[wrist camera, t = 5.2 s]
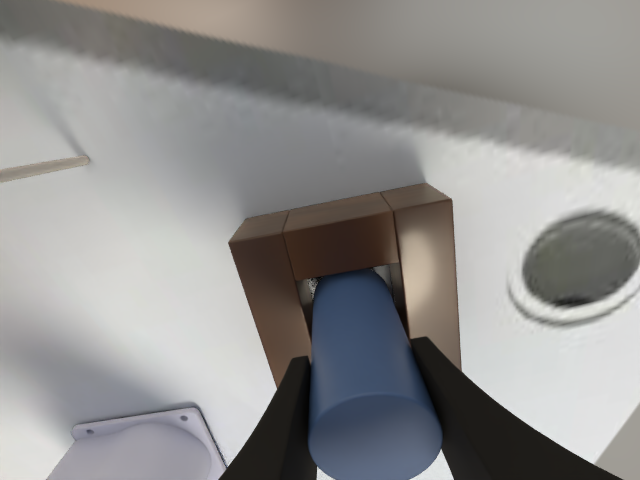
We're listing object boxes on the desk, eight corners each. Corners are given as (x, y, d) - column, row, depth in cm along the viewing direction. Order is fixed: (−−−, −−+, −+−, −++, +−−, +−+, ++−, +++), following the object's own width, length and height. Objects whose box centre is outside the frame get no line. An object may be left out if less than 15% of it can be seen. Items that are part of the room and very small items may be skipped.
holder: (288, 358, 21) (281, 404, 17) (245, 218, 17) (227, 242, 14) (439, 334, 20) (462, 377, 17) (427, 182, 16) (453, 198, 13)
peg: (321, 335, 18) (322, 495, 10) (306, 272, 16) (293, 405, 9) (393, 323, 17) (448, 479, 10) (384, 258, 16) (439, 383, 8)
